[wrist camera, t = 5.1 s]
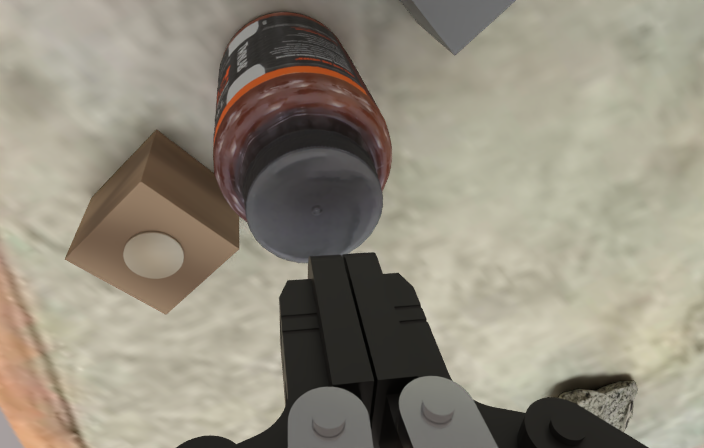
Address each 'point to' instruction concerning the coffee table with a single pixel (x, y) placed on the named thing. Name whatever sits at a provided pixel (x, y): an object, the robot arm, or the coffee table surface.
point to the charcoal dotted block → (455, 18)
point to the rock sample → (607, 402)
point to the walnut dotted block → (157, 226)
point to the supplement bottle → (298, 139)
